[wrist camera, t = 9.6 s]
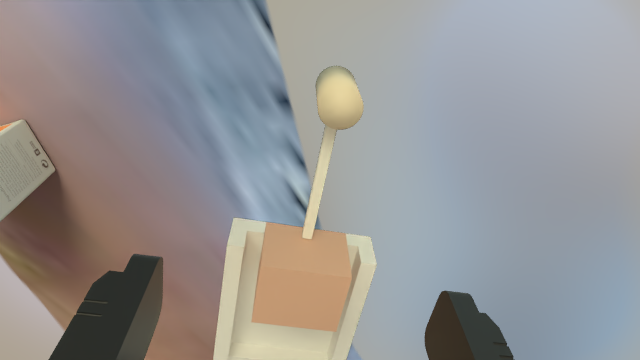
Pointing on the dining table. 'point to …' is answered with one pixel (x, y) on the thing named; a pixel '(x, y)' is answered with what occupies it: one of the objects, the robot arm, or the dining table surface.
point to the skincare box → (20, 165)
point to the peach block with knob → (310, 233)
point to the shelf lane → (274, 340)
